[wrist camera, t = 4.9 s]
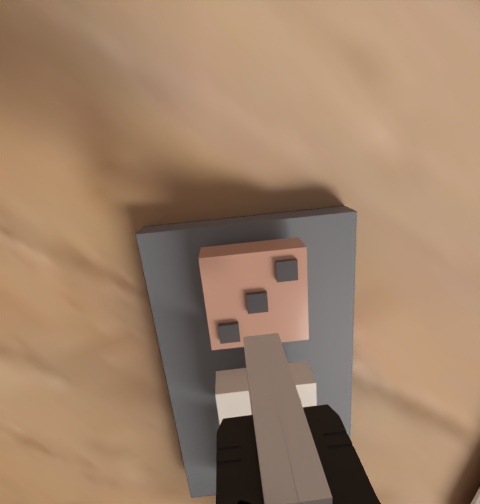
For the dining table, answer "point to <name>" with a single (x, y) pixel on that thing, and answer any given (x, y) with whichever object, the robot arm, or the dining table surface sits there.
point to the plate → (476, 498)
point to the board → (209, 361)
